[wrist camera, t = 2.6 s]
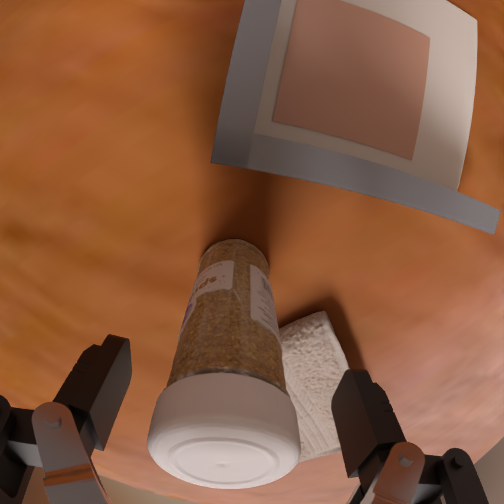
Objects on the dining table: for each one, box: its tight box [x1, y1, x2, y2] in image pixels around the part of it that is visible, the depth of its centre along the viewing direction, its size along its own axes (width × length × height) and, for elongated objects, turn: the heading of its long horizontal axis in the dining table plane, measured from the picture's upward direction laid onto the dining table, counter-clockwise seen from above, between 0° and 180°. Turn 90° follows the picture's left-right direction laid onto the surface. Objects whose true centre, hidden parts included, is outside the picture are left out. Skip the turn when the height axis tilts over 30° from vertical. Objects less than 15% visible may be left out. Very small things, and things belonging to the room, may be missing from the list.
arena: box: [211, 0, 501, 235], centre depth 12 cm, size 16×16×5 cm
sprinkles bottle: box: [147, 239, 301, 489], centre depth 13 cm, size 5×5×13 cm
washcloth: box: [279, 311, 350, 463], centre depth 23 cm, size 12×18×3 cm, turn 26°
